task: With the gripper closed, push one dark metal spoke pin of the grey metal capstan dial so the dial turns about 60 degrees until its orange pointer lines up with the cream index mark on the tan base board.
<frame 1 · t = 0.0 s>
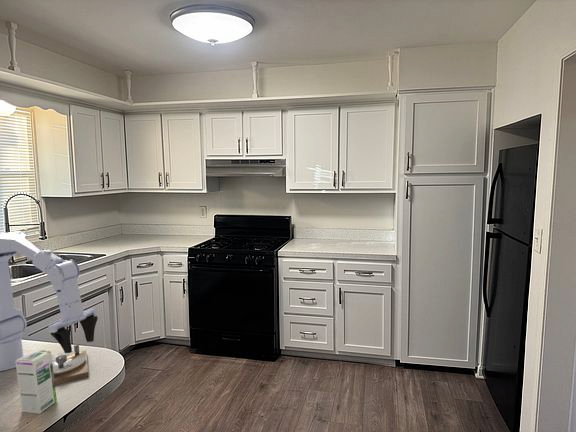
hand: (79, 346, 114), 11 cm above the counter, tool pointing down, fingers open, 7 cm apart
capstan dial: (61, 358, 121), point 4 cm above the counter, hinge at -60.0°
syrup box: (39, 407, 102), on the counter
tan base board: (62, 370, 121), on the counter
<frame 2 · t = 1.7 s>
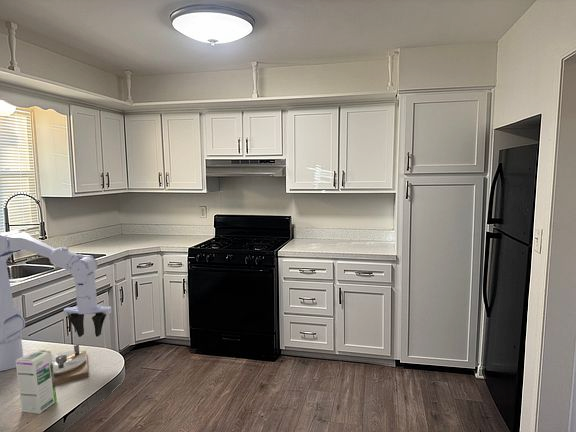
hand: (89, 335, 125), 9 cm above the counter, tool pointing down, fingers open, 5 cm apart
nothing on the counter moved.
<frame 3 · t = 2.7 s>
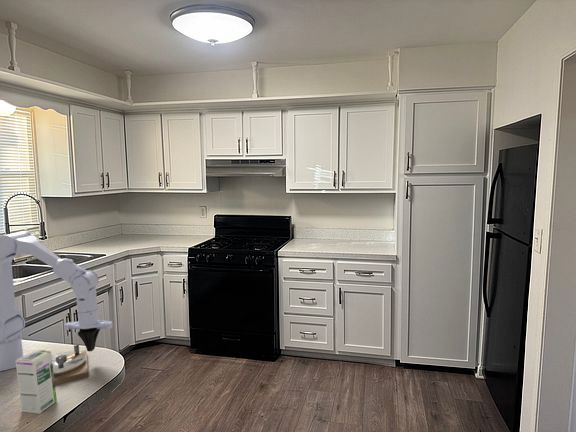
hand: (91, 350, 125), 4 cm above the counter, tool pointing down, fingers closed
nothing on the counter moved.
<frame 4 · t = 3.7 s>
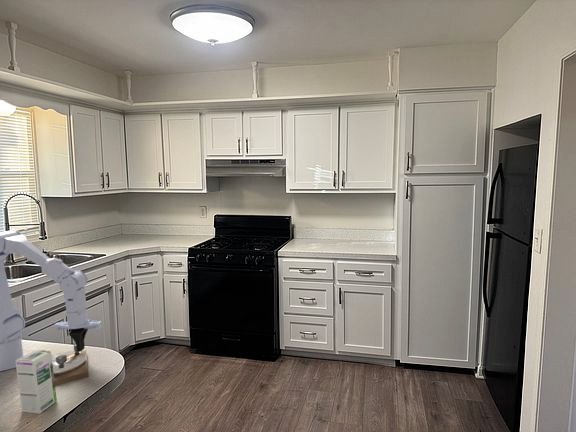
hand: (80, 350, 125), 4 cm above the counter, tool pointing down, fingers closed, pressing on capstan dial
capstan dial: (61, 358, 121), point 4 cm above the counter, hinge at -58.9°, touching gripper
everything else where it was.
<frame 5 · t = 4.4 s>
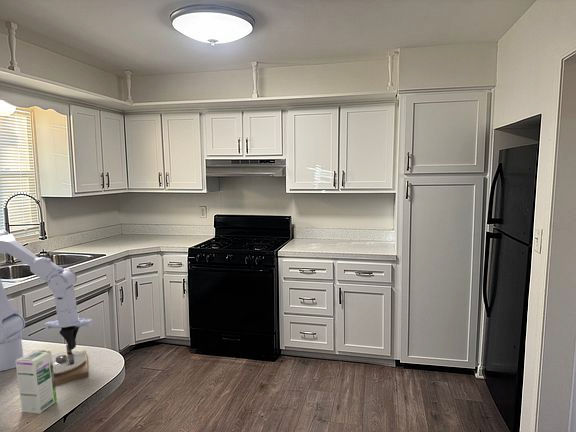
hand: (72, 348, 126), 5 cm above the counter, tool pointing down, fingers closed, pressing on capstan dial
capstan dial: (61, 358, 121), point 4 cm above the counter, hinge at -25.5°, touching gripper
everything else where it was.
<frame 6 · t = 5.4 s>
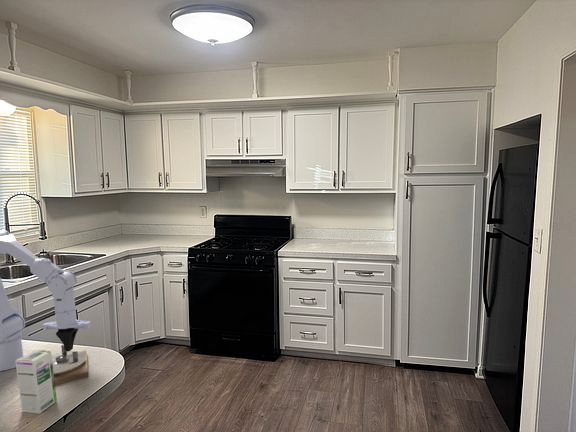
hand: (69, 350, 125), 5 cm above the counter, tool pointing down, fingers closed, pressing on capstan dial
capstan dial: (61, 358, 121), point 4 cm above the counter, hinge at -8.8°, touching gripper
everything else where it was.
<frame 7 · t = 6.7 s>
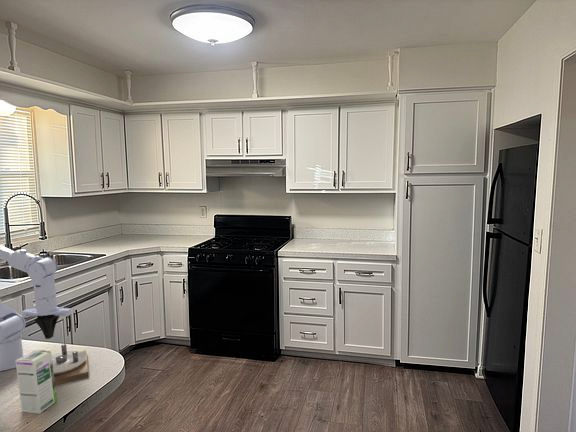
hand: (49, 337, 124), 9 cm above the counter, tool pointing down, fingers closed
capstan dial: (61, 358, 121), point 4 cm above the counter, hinge at -8.7°
everything else where it was.
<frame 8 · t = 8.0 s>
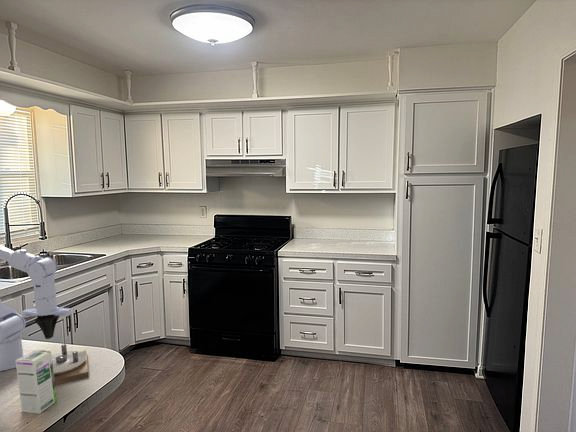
hand: (49, 337, 124), 9 cm above the counter, tool pointing down, fingers closed
nothing on the counter moved.
at the end: capstan dial at -9° (first picture: -60°); syrup box moved 0.2 cm from its start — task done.
